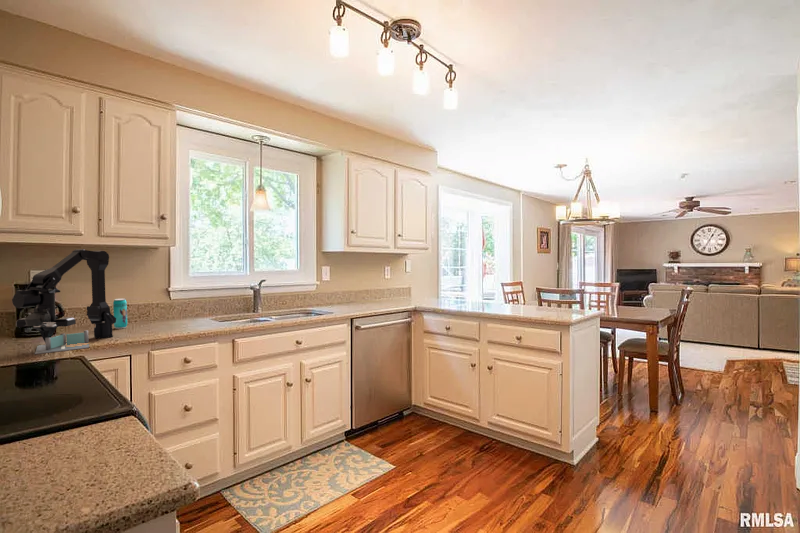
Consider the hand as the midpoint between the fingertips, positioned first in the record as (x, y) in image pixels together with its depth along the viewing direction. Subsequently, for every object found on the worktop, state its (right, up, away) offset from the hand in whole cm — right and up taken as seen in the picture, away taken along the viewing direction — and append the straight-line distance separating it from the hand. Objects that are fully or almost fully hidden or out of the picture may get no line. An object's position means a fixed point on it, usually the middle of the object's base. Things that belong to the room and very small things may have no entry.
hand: (46, 343), depth 170 cm
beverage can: (-1, -1, +47) cm, 47 cm away
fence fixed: (+5, -2, +9) cm, 11 cm away
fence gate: (+2, -2, +2) cm, 4 cm away
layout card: (+3, -2, +5) cm, 6 cm away
